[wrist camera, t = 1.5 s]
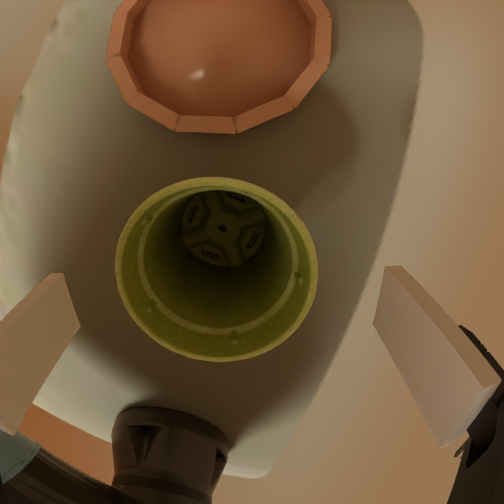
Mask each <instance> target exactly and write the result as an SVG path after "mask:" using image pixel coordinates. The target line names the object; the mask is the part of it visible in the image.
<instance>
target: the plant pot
mask: <svg viewBox="0 0 504 504" xmlns="http://www.w3.org/2000/svg"><path fill="white" fill-rule="evenodd" d="M228 193H234V194H236V195H239V196H241V197H243V198H244V200H245V203H242V202H241V201H239V200H237V199H234V198H232V197H229V196H227V194H228ZM195 205H196V206H198V209H197V211H196V213H195V214H194V217H193V220H192V222H191V223H189V214H190V211H191V209H192V208H193V207H194V206H195ZM220 225H224V226H225V227H226V231H224V232H222V231H220V230H219V226H220ZM255 231H256V232H257V233H258V237H257V239H256V241H255V243H254V245H253V246H252V247H250V248H247V245H248V243H249V242H250V240H251V239H252V236H253V233H254V232H255ZM202 250H206V251H208V252H210V253H212V254H214V255H218V256H219V258H218V259H214V258H211V257H207V256H205V255H204V254H203V253H202ZM115 276H116V282H117V286H118V291H119V294H120V297H121V299H122V301H123V304H124V306H125V308H126V309H127V311H128V313H129V314H130V316H131V317H132V319H133V320H134V321H135V322H136V324H137V325H138V326H139V327H140V328H141V329H142V330H143V331H144V332H146V333H147V334H148V335H149V336H150V337H151V338H152V339H153V340H155V341H156V342H157V343H159V344H160V345H162V346H163V347H165V348H167V349H169V350H171V351H173V352H175V353H178V354H182V355H184V356H186V357H189V358H193V359H197V360H205V361H212V362H229V361H237V360H244V359H248V358H251V357H255V356H257V355H260V354H263V353H265V352H267V351H269V350H271V349H273V348H274V347H276V346H278V345H279V344H281V343H282V342H283V341H285V340H286V339H287V338H288V337H289V336H290V335H292V334H293V333H294V332H295V331H296V329H297V328H298V327H299V326H300V324H301V323H302V322H303V320H304V319H305V317H306V315H307V314H308V312H309V310H310V308H311V306H312V303H313V301H314V298H315V295H316V290H317V284H318V260H317V254H316V250H315V246H314V243H313V240H312V238H311V236H310V233H309V232H308V230H307V228H306V226H305V224H304V223H303V221H302V220H301V219H300V218H299V216H298V215H297V214H296V213H295V211H294V210H293V209H292V208H291V207H290V206H289V205H288V204H287V203H285V202H284V201H283V200H282V199H280V198H279V197H278V196H276V195H275V194H273V193H272V192H270V191H268V190H266V189H265V188H262V187H260V186H258V185H256V184H253V183H250V182H247V181H244V180H240V179H235V178H229V177H215V176H210V177H198V178H192V179H187V180H183V181H180V182H177V183H174V184H172V185H169V186H167V187H165V188H163V189H161V190H159V191H158V192H156V193H154V194H153V195H151V196H150V197H149V198H147V199H146V200H145V201H144V202H143V203H141V205H140V206H139V207H138V208H137V209H136V210H135V211H134V212H133V214H132V215H131V216H130V218H129V219H128V221H127V223H126V224H125V226H124V228H123V230H122V232H121V235H120V237H119V240H118V244H117V249H116V254H115Z"/></svg>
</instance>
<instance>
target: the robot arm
mask: <svg viewBox="0 0 504 504" xmlns="http://www.w3.org/2000/svg"><path fill="white" fill-rule="evenodd" d="M373 325H374V327H375V328H376V330H377V332H378V334H379V335H380V337H381V338H382V341H383V342H384V344H385V346H386V348H387V349H388V351H389V353H390V355H391V357H392V358H393V360H394V362H395V364H396V366H397V368H398V369H399V371H400V373H401V375H402V377H403V379H404V381H405V383H406V384H407V386H408V388H409V390H410V392H411V394H412V396H413V398H414V400H415V402H416V404H417V406H418V408H419V410H420V412H421V414H422V416H423V418H424V420H425V422H426V424H427V426H428V428H429V430H430V433H431V434H432V437H433V439H434V441H435V443H436V445H437V448H438V449H440V448H443V447H445V446H447V445H450V444H452V443H455V442H457V441H458V439H460V437H461V436H462V435H463V433H464V432H465V431H466V430H467V431H468V434H469V435H470V437H469V438H468V439H467V440H466V441H465V443H464V444H463V445H462V446H461V447H460V448H459V450H457V451H456V453H455V455H454V457H457V456H458V455H459V454H460V453H461V452H462V451H463V450H464V451H463V455H462V457H461V462H460V466H459V469H458V473H457V476H456V479H455V482H454V485H453V488H452V491H451V494H450V497H449V499H448V502H447V504H504V370H503V369H502V368H501V366H500V365H499V364H498V363H497V361H496V360H495V359H494V358H493V356H492V355H491V354H490V353H489V352H487V349H486V348H485V347H484V346H483V345H482V344H481V342H480V341H479V340H478V339H477V338H476V336H475V335H474V334H473V333H472V332H470V331H469V330H467V329H466V328H465V327H463V326H461V325H459V326H458V325H457V324H456V323H455V322H454V321H453V320H452V319H451V317H450V316H449V315H448V314H447V313H446V312H445V311H444V310H443V309H442V307H441V306H440V305H439V304H438V303H437V302H436V301H435V300H434V299H433V298H432V297H431V296H430V295H429V293H428V292H426V291H425V289H424V288H423V287H422V286H421V285H420V284H419V283H418V282H417V281H416V280H415V279H414V278H413V277H412V276H411V275H410V274H409V273H408V272H407V271H406V270H405V269H404V268H403V267H402V266H386V267H385V269H384V275H383V280H382V285H381V290H380V295H379V300H378V304H377V308H376V313H375V317H374V321H373ZM80 327H81V326H80V323H79V320H78V317H77V315H76V312H75V309H74V306H73V303H72V300H71V297H70V294H69V291H68V287H67V284H66V281H65V277H64V274H63V273H50V274H49V275H48V276H47V277H46V278H45V279H44V280H42V281H41V282H40V283H39V284H38V285H37V286H36V287H35V288H34V289H33V290H32V291H31V292H30V293H29V294H28V295H26V296H25V297H24V298H23V299H22V300H21V301H20V302H19V303H18V304H17V305H16V306H15V307H14V308H13V309H12V310H11V311H10V312H9V313H8V314H7V315H6V316H5V317H4V318H3V320H2V321H1V322H0V504H212V503H211V502H212V494H213V491H214V489H215V487H216V485H217V483H218V481H219V479H220V476H221V474H222V472H223V470H224V467H225V465H226V463H227V459H228V442H227V439H226V437H225V436H224V435H223V434H222V433H221V432H220V431H219V430H218V429H217V428H215V427H214V426H212V425H211V424H209V423H207V422H205V421H203V420H201V419H199V418H196V417H194V416H191V415H188V414H185V413H181V412H177V411H173V410H168V409H161V408H150V407H142V408H133V409H129V410H126V411H124V412H122V413H120V414H119V415H118V416H117V418H116V421H115V423H114V426H113V429H112V435H111V437H112V451H113V462H114V478H113V481H112V485H111V486H109V485H107V484H105V483H103V482H101V481H99V480H97V479H95V478H93V477H91V476H89V475H88V474H86V473H84V472H82V471H80V470H78V469H76V468H75V467H73V466H71V465H70V464H68V463H66V462H65V461H63V460H61V459H59V458H58V457H56V456H55V455H53V454H51V453H50V452H49V451H47V450H46V449H44V448H43V447H41V444H39V443H38V442H36V441H32V440H31V439H29V438H28V437H26V436H25V435H23V434H22V433H20V432H19V431H17V429H18V427H19V425H20V423H21V422H22V419H23V418H24V416H25V414H26V412H27V411H28V409H29V407H30V405H31V404H32V402H33V400H34V398H35V397H36V395H37V393H38V392H39V390H40V388H41V387H42V385H43V383H44V382H45V380H46V378H47V377H48V375H49V374H50V372H51V370H52V369H53V367H54V366H55V364H56V362H57V361H58V359H59V358H60V356H61V355H62V353H63V352H64V350H65V349H66V347H67V346H68V344H69V343H70V341H71V340H72V338H73V337H74V335H75V334H76V333H77V331H78V330H79V328H80Z"/></svg>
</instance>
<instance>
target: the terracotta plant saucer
mask: <svg viewBox="0 0 504 504" xmlns="http://www.w3.org/2000/svg"><path fill="white" fill-rule="evenodd" d="M331 31H332V17H331V14H330V12H329V10H328V9H327V7H326V6H325V4H324V2H323V1H322V0H124V1H123V2H122V3H121V5H120V6H119V7H118V8H117V10H116V13H114V17H113V21H112V26H111V31H110V36H109V42H108V47H107V53H106V59H107V60H106V62H107V64H108V66H109V68H110V71H111V73H112V75H113V77H114V79H115V81H116V84H117V86H118V88H119V90H120V92H121V94H122V96H123V98H124V100H125V102H126V103H127V105H129V106H131V107H133V108H135V109H136V110H138V111H140V112H141V113H143V114H145V115H147V116H148V117H150V118H152V119H153V120H155V121H157V122H159V123H160V124H162V125H164V126H165V127H167V128H169V129H170V130H172V131H175V132H199V133H222V134H236V131H237V132H238V134H239V133H242V132H244V131H246V130H248V129H250V128H253V127H255V126H257V125H260V124H262V123H265V122H267V121H269V120H271V119H273V118H276V117H278V116H281V115H283V114H286V113H288V112H290V111H292V110H294V109H295V108H296V107H297V106H298V105H299V103H300V102H301V101H302V100H303V98H304V97H305V96H306V94H307V93H308V92H309V91H310V89H311V88H312V87H313V85H314V84H315V83H316V82H317V80H318V79H319V78H320V77H321V75H322V74H323V73H324V72H325V70H326V69H327V68H328V67H329V66H328V65H329V64H330V51H331Z"/></svg>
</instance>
